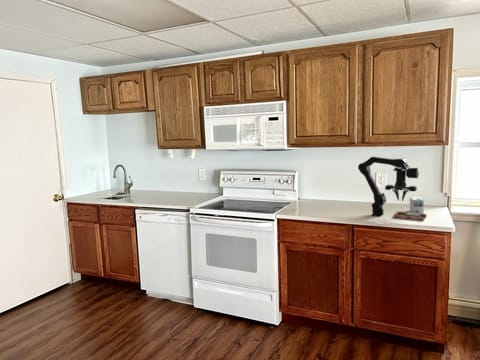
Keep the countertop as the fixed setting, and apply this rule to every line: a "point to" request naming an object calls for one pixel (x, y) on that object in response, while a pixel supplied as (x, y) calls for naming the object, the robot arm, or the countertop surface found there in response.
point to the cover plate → (414, 214)
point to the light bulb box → (416, 205)
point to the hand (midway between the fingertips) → (400, 200)
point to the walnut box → (403, 216)
